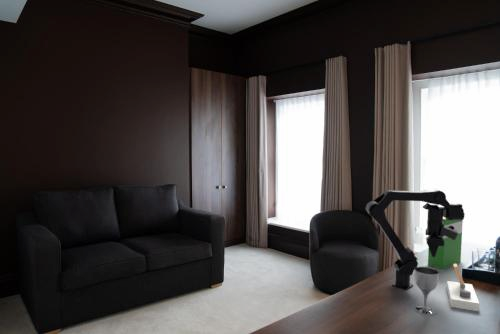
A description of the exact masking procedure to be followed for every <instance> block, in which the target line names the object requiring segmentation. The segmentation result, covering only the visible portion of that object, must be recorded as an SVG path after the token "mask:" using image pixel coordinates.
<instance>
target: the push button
mask: <svg viewBox="0 0 500 334" xmlns="http://www.w3.org/2000/svg"><path fill="white" fill-rule="evenodd" d="M460 296H462V297H466V298H469V297H471V292H469V291H466V290H460Z"/></svg>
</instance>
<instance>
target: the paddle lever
mask: <svg viewBox="0 0 500 334" xmlns="http://www.w3.org/2000/svg"><path fill="white" fill-rule="evenodd" d="M453 267H454V270H455V274H456V276H457V279H458V281H459V283H460V286H461V288H463V289H464V288H465V284H464V283H465V281H464V280H463V278H462V275H461V272H460V269H459V266H458V263H456V264H454V265H453Z"/></svg>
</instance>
